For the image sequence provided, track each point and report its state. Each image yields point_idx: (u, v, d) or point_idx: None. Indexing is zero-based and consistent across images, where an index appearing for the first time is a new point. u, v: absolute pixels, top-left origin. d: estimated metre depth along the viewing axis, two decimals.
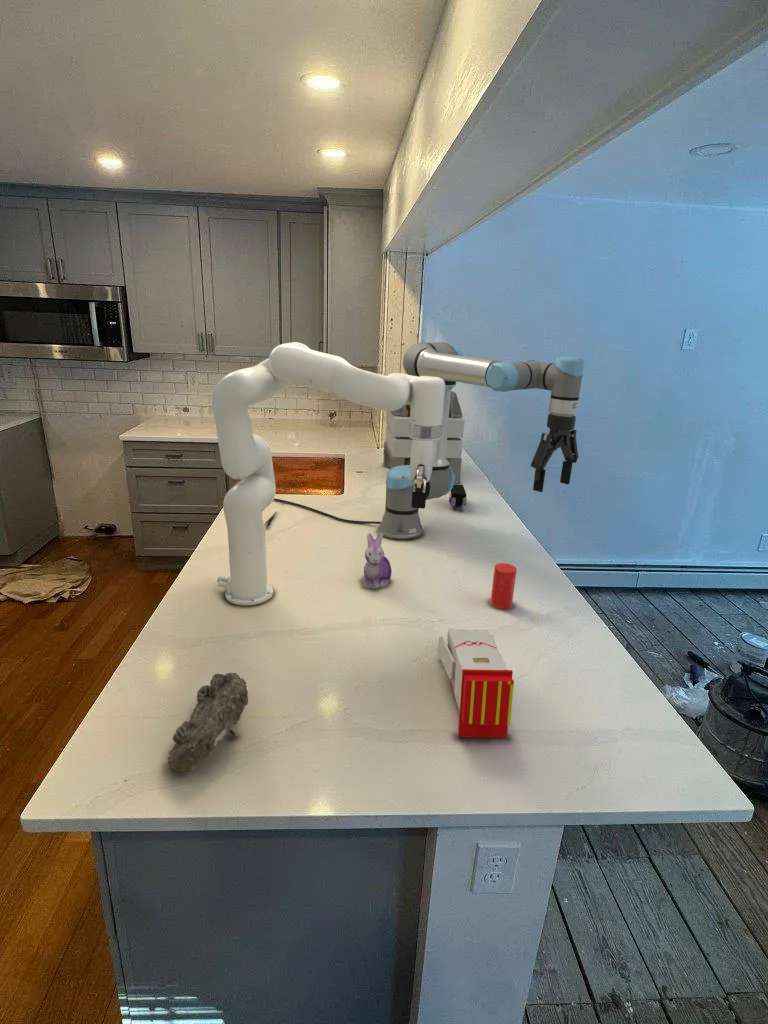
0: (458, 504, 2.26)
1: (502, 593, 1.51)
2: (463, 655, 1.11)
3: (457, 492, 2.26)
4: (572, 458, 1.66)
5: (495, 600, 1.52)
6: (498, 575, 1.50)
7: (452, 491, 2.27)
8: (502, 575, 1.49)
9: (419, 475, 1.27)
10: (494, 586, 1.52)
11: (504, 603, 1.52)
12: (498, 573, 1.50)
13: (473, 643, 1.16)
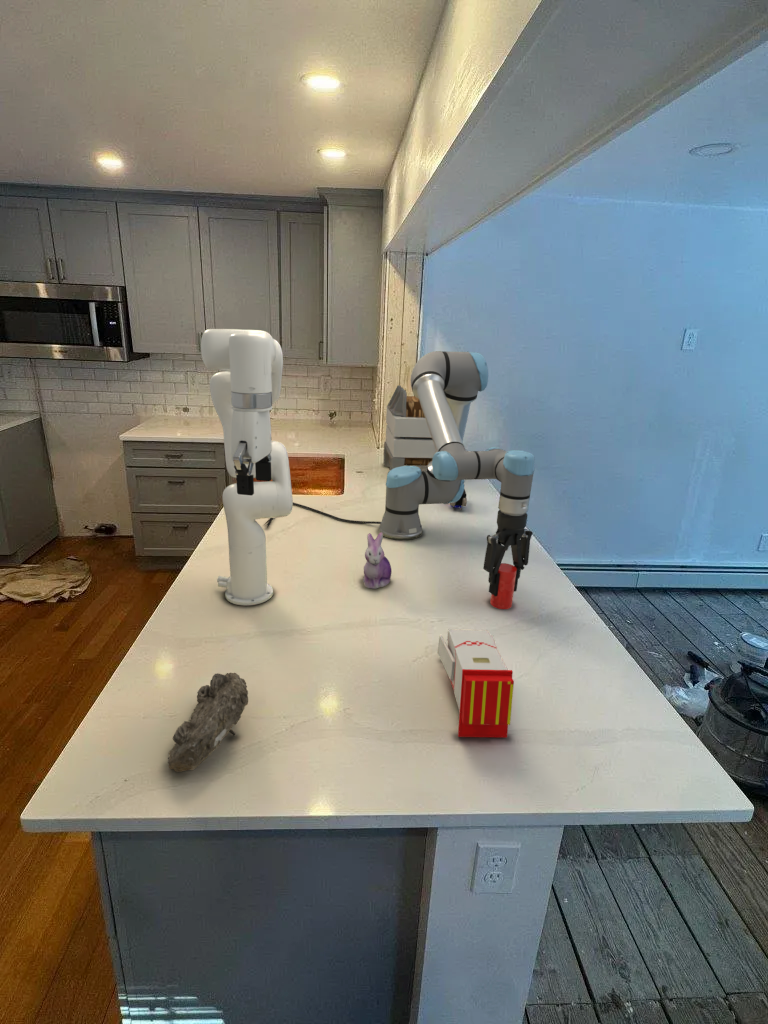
0: (458, 504, 2.26)
1: (502, 593, 1.51)
2: (463, 655, 1.11)
3: None
4: (520, 563, 1.52)
5: (495, 600, 1.52)
6: None
7: None
8: (502, 575, 1.49)
9: (237, 453, 1.03)
10: None
11: (504, 603, 1.52)
12: None
13: (473, 643, 1.16)
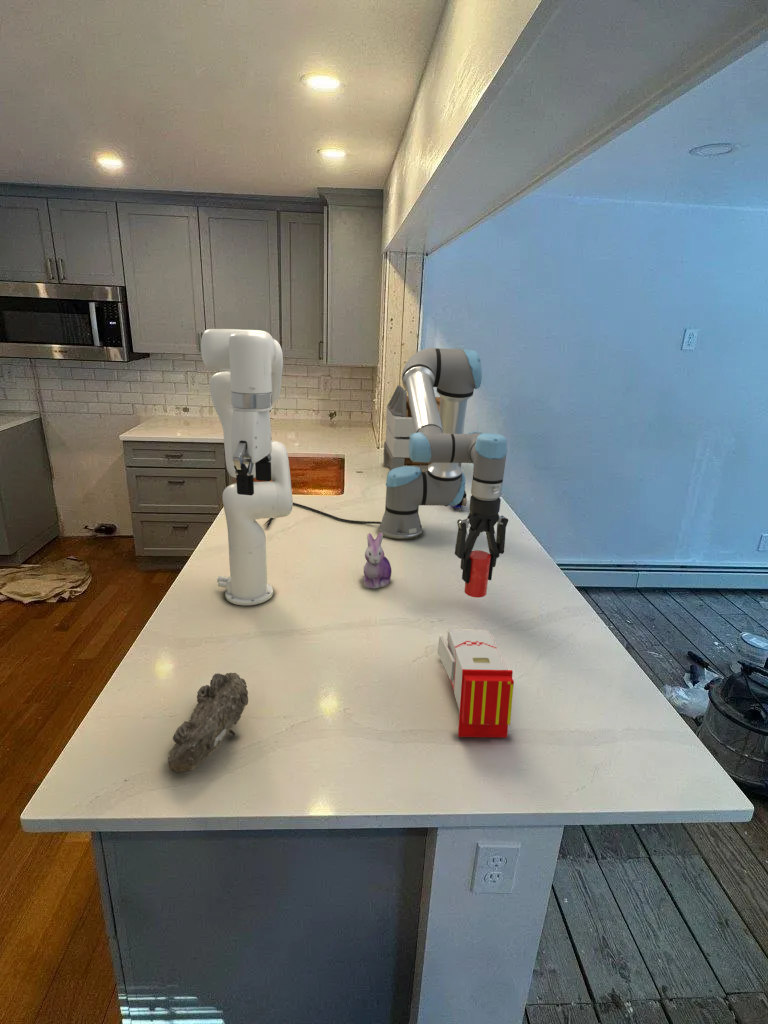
0: (458, 504, 2.26)
1: (474, 580, 1.47)
2: (463, 655, 1.11)
3: None
4: (494, 551, 1.47)
5: (467, 587, 1.49)
6: None
7: None
8: (474, 562, 1.45)
9: (237, 453, 1.03)
10: None
11: (477, 591, 1.48)
12: None
13: (473, 643, 1.16)
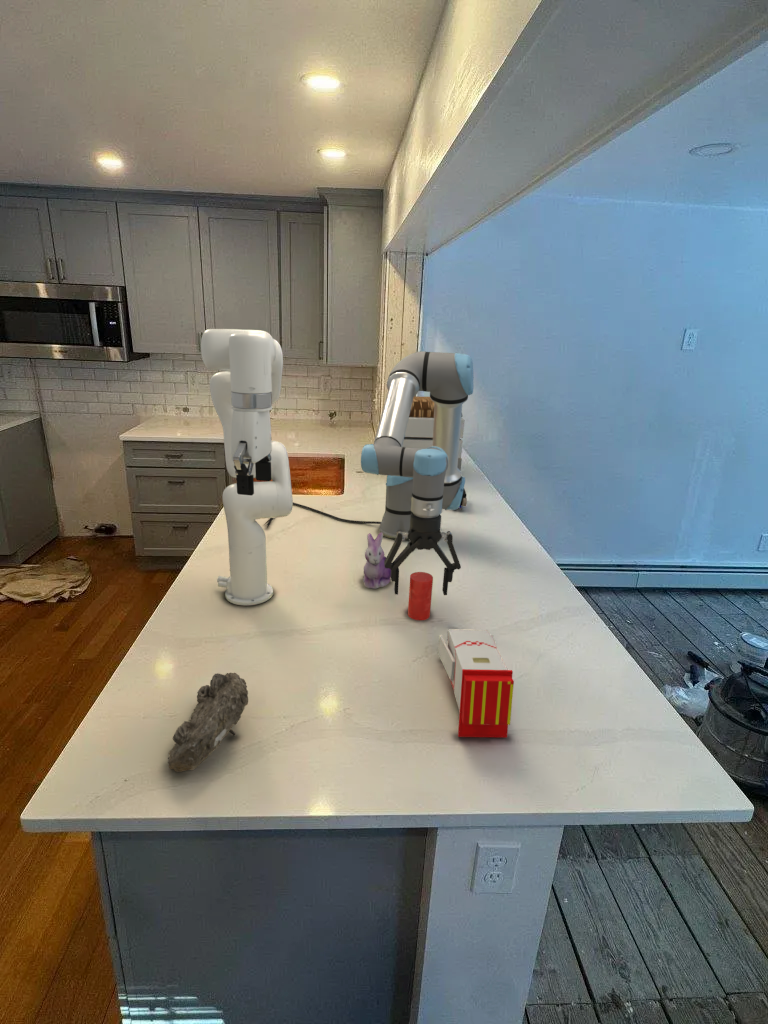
0: None
1: (413, 602, 1.44)
2: (463, 655, 1.11)
3: None
4: (448, 566, 1.42)
5: (408, 608, 1.46)
6: (410, 582, 1.44)
7: None
8: (413, 583, 1.42)
9: (237, 453, 1.03)
10: (409, 594, 1.46)
11: (416, 614, 1.44)
12: (410, 580, 1.44)
13: (473, 643, 1.16)
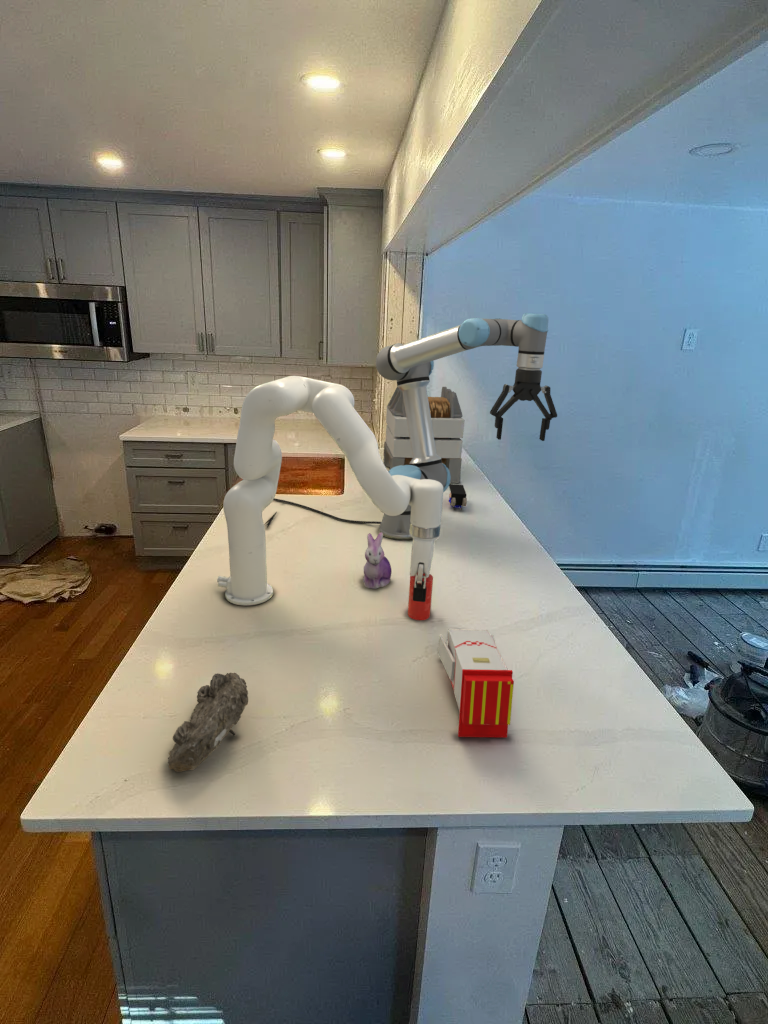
0: (458, 504, 2.26)
1: (413, 602, 1.44)
2: (463, 655, 1.11)
3: (457, 492, 2.26)
4: (547, 415, 1.72)
5: (408, 608, 1.46)
6: (410, 582, 1.44)
7: (452, 491, 2.27)
8: (413, 583, 1.42)
9: (419, 577, 1.36)
10: (409, 594, 1.46)
11: (416, 613, 1.44)
12: (410, 580, 1.44)
13: (473, 643, 1.16)
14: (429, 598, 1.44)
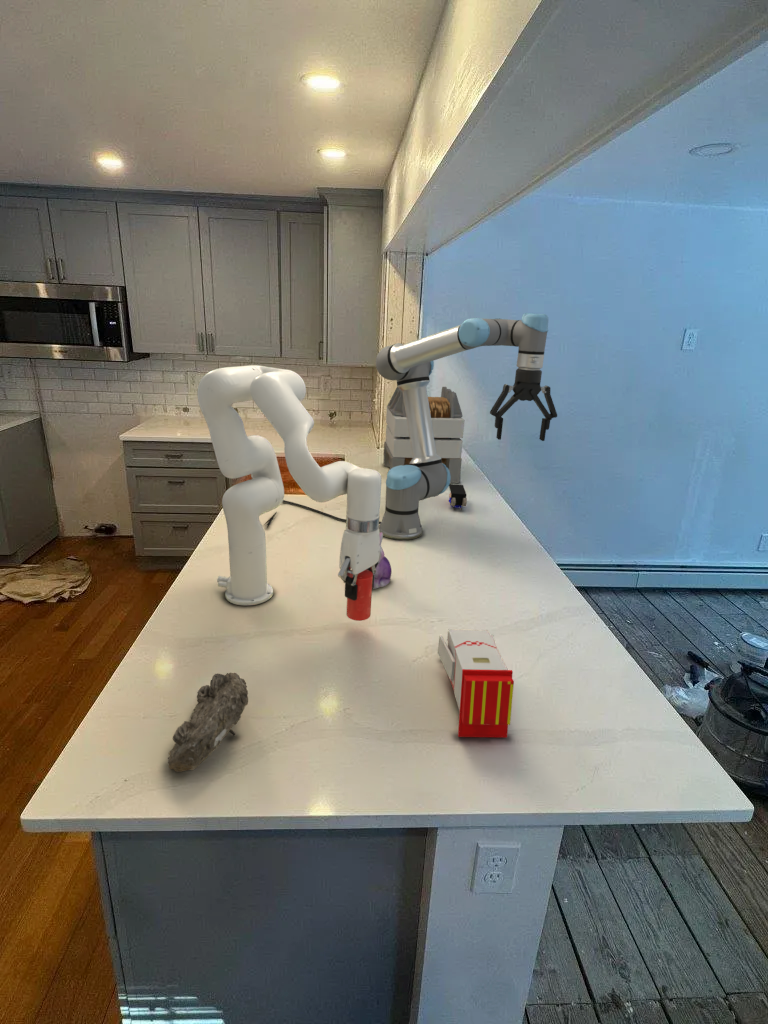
0: (458, 504, 2.26)
1: (348, 599, 1.34)
2: (463, 655, 1.11)
3: (457, 492, 2.26)
4: (547, 415, 1.72)
5: None
6: None
7: (452, 491, 2.27)
8: None
9: (341, 571, 1.27)
10: None
11: (349, 612, 1.35)
12: None
13: (473, 643, 1.16)
14: (364, 598, 1.33)
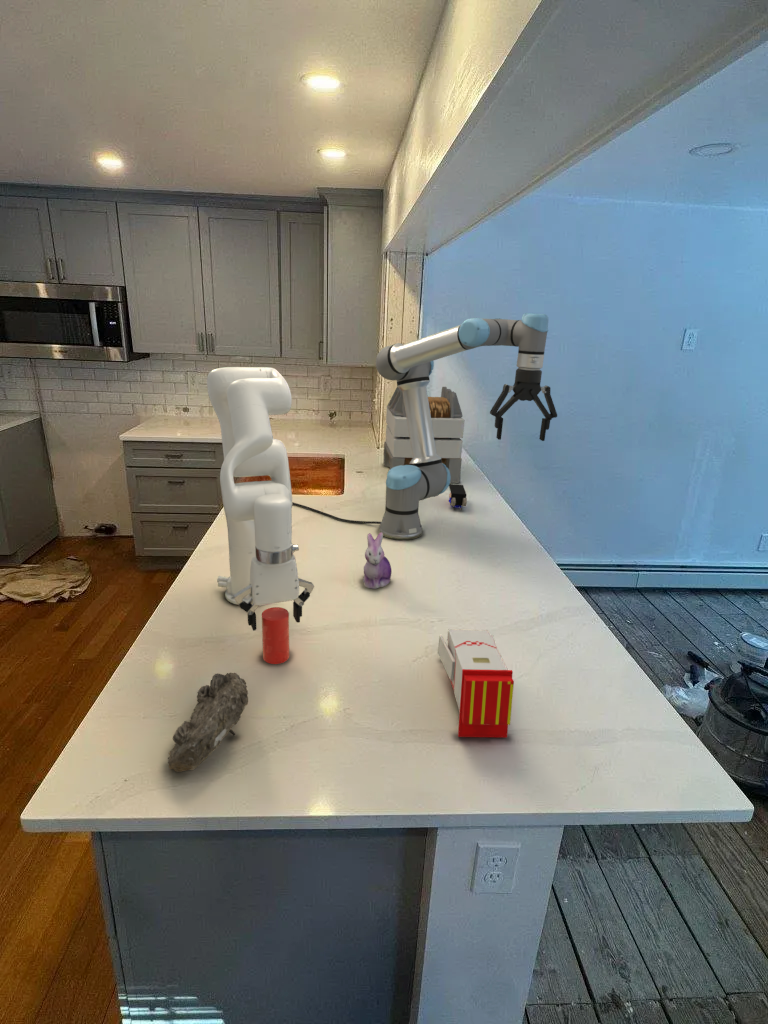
0: (458, 504, 2.26)
1: None
2: (463, 655, 1.11)
3: (457, 492, 2.26)
4: (547, 415, 1.72)
5: None
6: None
7: (452, 491, 2.27)
8: None
9: (237, 593, 1.19)
10: None
11: None
12: None
13: (473, 643, 1.16)
14: (271, 641, 1.23)
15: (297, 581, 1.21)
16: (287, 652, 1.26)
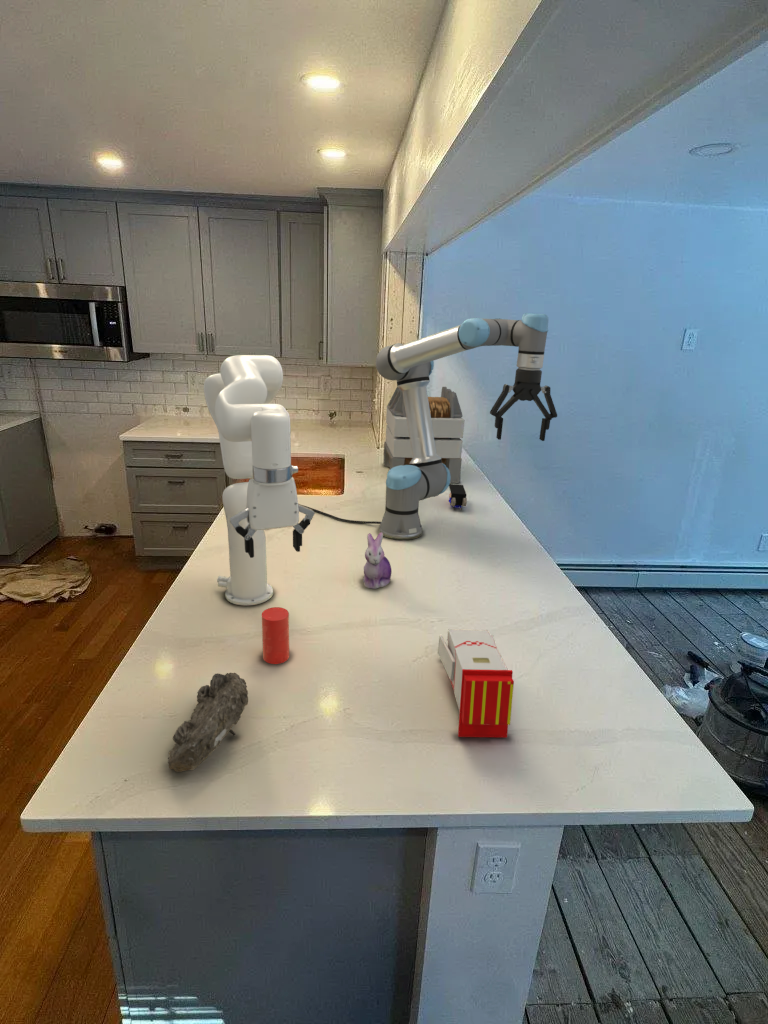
0: (458, 504, 2.26)
1: None
2: (463, 655, 1.11)
3: (457, 492, 2.26)
4: (547, 415, 1.72)
5: None
6: None
7: (452, 491, 2.27)
8: None
9: (234, 517, 1.13)
10: None
11: None
12: None
13: (473, 643, 1.16)
14: (271, 641, 1.23)
15: (297, 505, 1.15)
16: (287, 652, 1.26)
